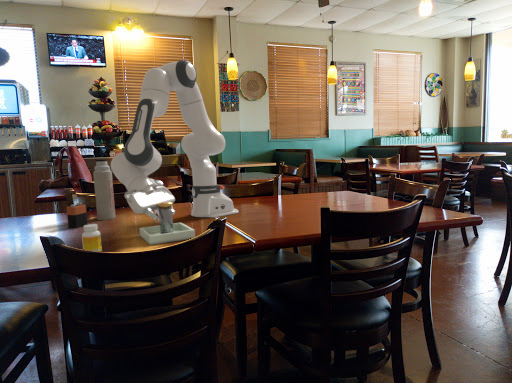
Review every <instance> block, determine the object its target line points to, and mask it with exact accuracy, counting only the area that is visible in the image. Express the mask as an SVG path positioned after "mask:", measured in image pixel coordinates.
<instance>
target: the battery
mask: <svg viewBox="0 0 512 383" xmlns="http://www.w3.org/2000/svg"><path fill="white" fill-rule="evenodd" d="M66 214H67V226H68V228H69V229H78V228H82V227H83V226H84V225H88V218H87V217H88V216H87V206H86V204H83V203H82V202H76V204H75V203H74V204H70V205H69V206H66Z"/></svg>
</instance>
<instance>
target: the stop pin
mask: <svg viewBox="0 0 512 383" xmlns="http://www.w3.org/2000/svg"><path fill="white" fill-rule="evenodd" d="M172 206H174V203H173V202H160V203H157V207H159V209H158V215H159V218H158V220H159V225H160V234H165V233H172V232H173V223H174V222H173V221H174V220H173V215H172Z"/></svg>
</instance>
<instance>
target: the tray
mask: <svg viewBox="0 0 512 383" xmlns="http://www.w3.org/2000/svg"><path fill="white" fill-rule="evenodd" d="M139 236H140V237H141V238H142V239H143V240H144V242H146V243H147V244H148V245H149V246H153V245H159V244H160V245H161V244H166V243H172V242H178V241H185V240H191V239H190V238H193V237H195V238H196V230H195V229H194V228H192V227H190V226H189V225H187V224H185V223H183V222H176V223H175V222H173V232H172V233H165V234H160V224H159V225H152V226H146V227H145V226H143V227H139ZM193 239H194V238H193Z"/></svg>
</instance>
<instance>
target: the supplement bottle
mask: <svg viewBox="0 0 512 383" xmlns="http://www.w3.org/2000/svg"><path fill="white" fill-rule="evenodd" d="M82 227H83V233H81V241H82V250H83V249H84V250H92V251H102V252H103V247H102V234H101V231H99V230H98V223H87V225H84V226H82Z"/></svg>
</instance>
